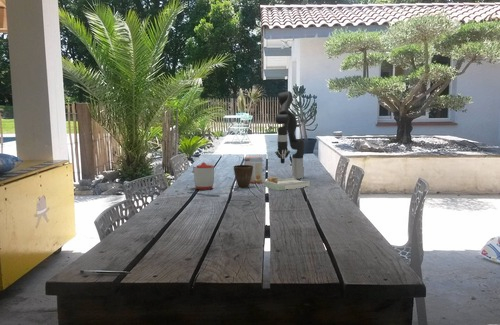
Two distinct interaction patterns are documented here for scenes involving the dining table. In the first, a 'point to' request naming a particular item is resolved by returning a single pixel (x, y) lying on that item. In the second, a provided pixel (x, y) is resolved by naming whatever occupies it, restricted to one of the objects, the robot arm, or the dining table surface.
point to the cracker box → (255, 168)
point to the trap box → (286, 184)
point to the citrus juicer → (203, 176)
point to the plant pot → (243, 175)
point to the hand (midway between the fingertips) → (282, 163)
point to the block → (272, 179)
